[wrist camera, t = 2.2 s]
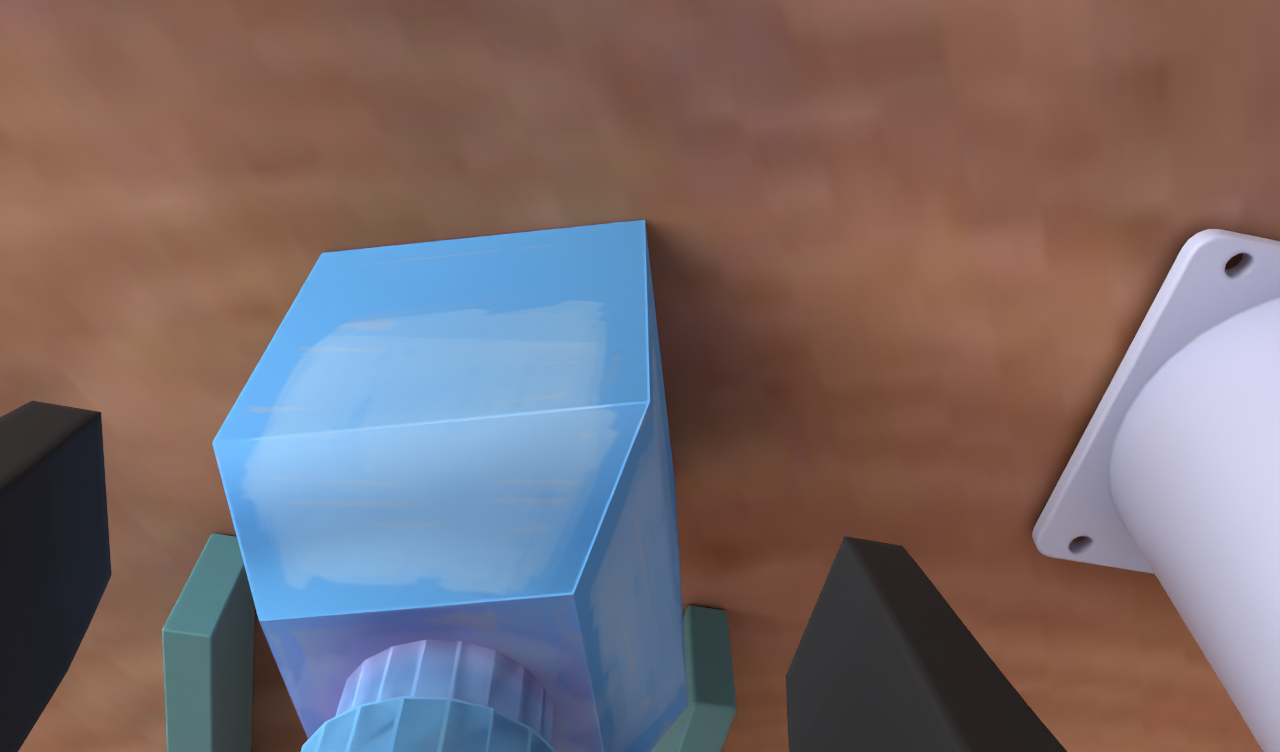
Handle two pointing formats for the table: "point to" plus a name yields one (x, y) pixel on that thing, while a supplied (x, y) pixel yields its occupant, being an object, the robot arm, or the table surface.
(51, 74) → the table surface
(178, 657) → the bay
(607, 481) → the perfume bottle
